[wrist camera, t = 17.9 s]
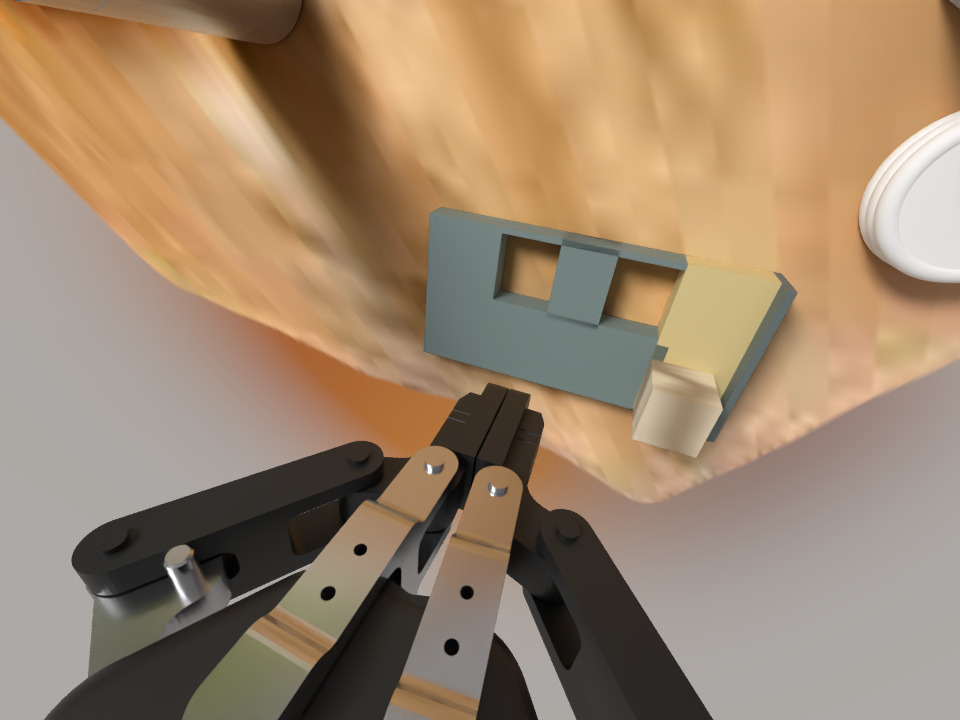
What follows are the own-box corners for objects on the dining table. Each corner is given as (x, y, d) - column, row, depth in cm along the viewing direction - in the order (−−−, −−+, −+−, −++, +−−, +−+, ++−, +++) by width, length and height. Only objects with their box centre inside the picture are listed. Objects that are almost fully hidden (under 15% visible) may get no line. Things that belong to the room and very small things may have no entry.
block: (633, 404, 38) (632, 438, 34) (651, 358, 36) (652, 390, 32) (690, 420, 37) (696, 458, 33) (713, 374, 35) (722, 409, 31)
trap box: (433, 340, 45) (417, 358, 42) (441, 207, 38) (422, 216, 34) (707, 415, 39) (713, 442, 36) (781, 274, 32) (797, 292, 29)
